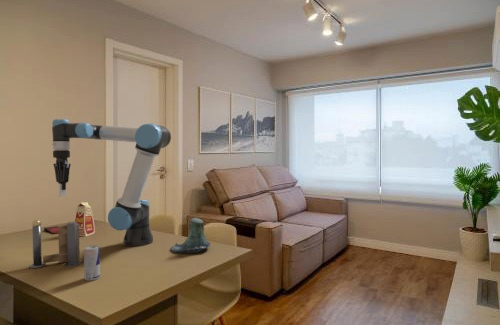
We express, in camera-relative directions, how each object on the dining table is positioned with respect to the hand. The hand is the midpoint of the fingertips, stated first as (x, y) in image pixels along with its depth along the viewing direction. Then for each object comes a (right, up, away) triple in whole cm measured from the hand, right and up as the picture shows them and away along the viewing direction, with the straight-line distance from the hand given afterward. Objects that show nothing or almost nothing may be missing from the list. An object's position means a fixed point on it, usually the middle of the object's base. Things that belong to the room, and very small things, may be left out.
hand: (62, 196), depth 169 cm
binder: (-21, -26, +42) cm, 54 cm away
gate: (+13, -27, -23) cm, 37 cm away
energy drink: (+35, -28, -42) cm, 61 cm away
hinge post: (+5, -27, -28) cm, 39 cm away
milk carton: (-3, -26, +29) cm, 39 cm away
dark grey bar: (+19, -27, -25) cm, 41 cm away
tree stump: (+67, -26, -4) cm, 72 cm away
